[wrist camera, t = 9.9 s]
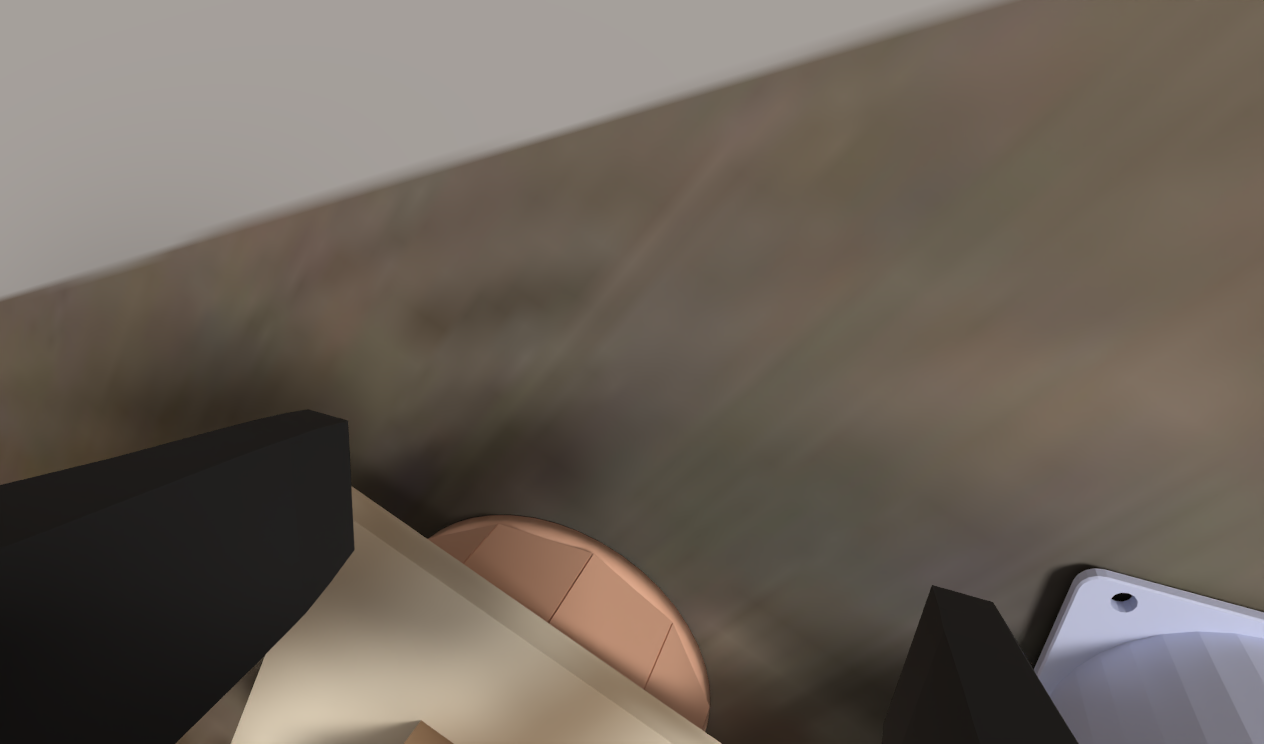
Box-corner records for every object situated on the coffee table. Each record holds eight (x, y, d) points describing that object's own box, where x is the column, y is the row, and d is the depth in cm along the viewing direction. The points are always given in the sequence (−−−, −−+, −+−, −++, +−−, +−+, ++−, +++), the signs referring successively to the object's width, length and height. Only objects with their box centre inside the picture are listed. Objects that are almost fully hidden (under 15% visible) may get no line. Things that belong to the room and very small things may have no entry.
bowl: (739, 579, 21) (698, 699, 17) (683, 839, 26) (640, 981, 22) (394, 473, 24) (292, 556, 20) (398, 725, 29) (315, 833, 25)
